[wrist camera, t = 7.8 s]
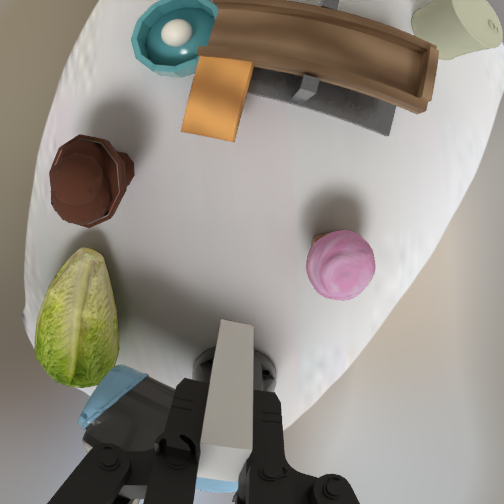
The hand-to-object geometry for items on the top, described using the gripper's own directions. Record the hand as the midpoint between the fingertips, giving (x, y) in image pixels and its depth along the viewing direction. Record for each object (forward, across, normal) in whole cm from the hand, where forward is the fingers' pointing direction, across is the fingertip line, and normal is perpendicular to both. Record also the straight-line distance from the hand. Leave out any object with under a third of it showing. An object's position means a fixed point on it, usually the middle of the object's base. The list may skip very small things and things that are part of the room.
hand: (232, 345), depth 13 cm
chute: (+23, -4, -17) cm, 29 cm away
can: (+27, -22, -35) cm, 49 cm away
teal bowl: (+27, +14, -22) cm, 38 cm away
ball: (+25, +14, -22) cm, 36 cm away
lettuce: (+29, +24, +21) cm, 43 cm away
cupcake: (+28, -13, +3) cm, 31 cm away
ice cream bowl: (+28, +19, -2) cm, 34 cm away
